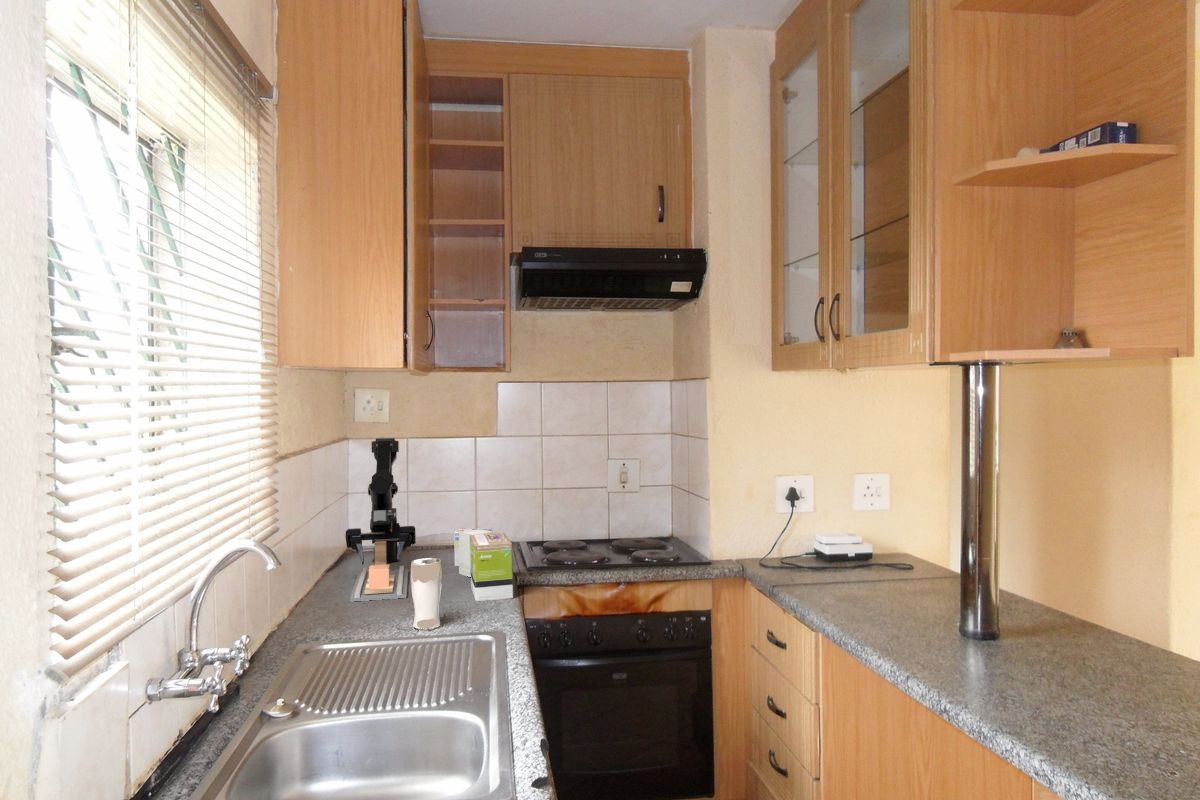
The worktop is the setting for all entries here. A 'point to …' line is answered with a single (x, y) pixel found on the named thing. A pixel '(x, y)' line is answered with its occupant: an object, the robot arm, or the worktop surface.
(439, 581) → the beer glass
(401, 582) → the guide board
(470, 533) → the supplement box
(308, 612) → the worktop surface
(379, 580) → the terracotta cube
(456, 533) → the light bulb box
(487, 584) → the tea box
